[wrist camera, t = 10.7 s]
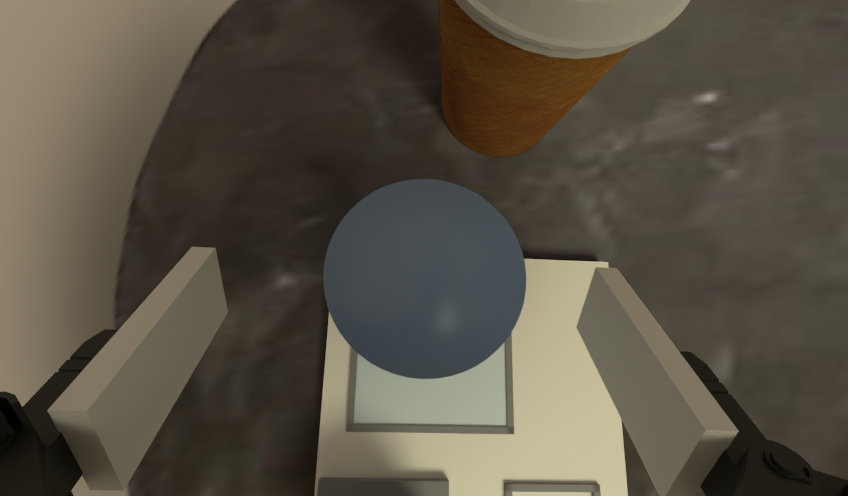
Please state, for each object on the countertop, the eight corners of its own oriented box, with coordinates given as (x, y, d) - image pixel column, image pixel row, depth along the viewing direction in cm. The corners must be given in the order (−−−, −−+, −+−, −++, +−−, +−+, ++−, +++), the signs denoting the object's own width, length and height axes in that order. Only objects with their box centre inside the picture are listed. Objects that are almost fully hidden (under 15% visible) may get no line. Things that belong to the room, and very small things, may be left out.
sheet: (600, 265, 23) (612, 260, 22) (629, 620, 19) (645, 639, 18) (335, 254, 22) (332, 248, 21) (306, 623, 18) (300, 643, 17)
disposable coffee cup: (388, 66, 25) (383, -182, 14) (530, 19, 27) (634, -240, 15) (456, 209, 23) (517, 59, 12) (605, 149, 25) (789, -35, 13)
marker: (453, 279, 21) (523, 184, 10) (452, 369, 20) (529, 382, 9) (366, 275, 21) (332, 173, 10) (360, 366, 20) (313, 376, 8)
